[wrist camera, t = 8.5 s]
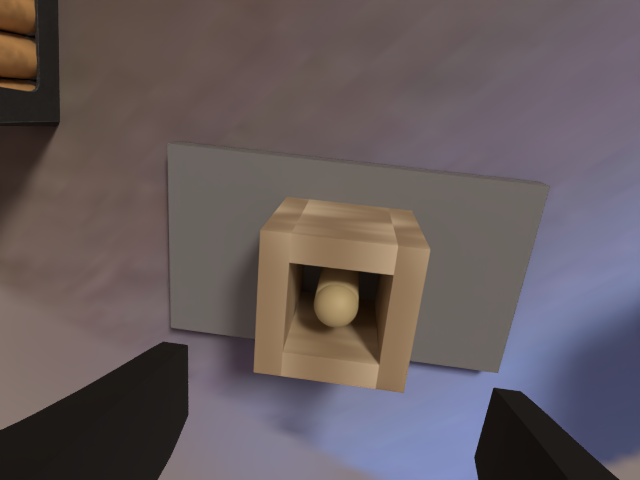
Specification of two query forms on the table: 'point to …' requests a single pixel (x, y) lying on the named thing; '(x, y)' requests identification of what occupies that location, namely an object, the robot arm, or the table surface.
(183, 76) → the table surface
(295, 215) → the bead
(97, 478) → the robot arm
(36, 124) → the ammunition clip
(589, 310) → the table surface
